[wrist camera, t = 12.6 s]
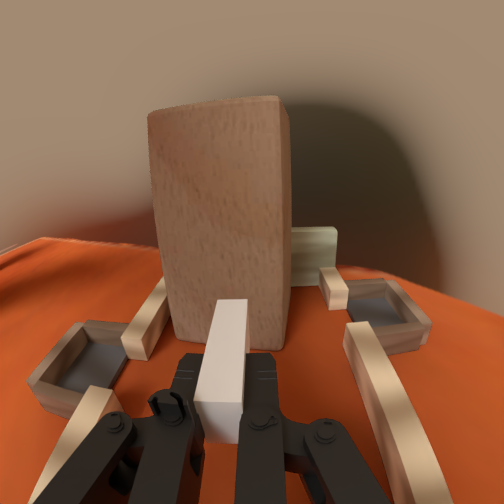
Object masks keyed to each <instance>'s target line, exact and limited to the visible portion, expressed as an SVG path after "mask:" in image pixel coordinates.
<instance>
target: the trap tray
mask: <svg viewBox="0 0 504 504" xmlns="http://www.w3.org/2000/svg"><path fill="white" fill-rule="evenodd" d="M336 247H337V230H336V229H335V228H334V227H297V228H296V227H291V287H293V286H317V285H318V286H319V288H320V290H321V293H322V295H323V298H324V300H325V302H326V305H327V307H328V310H342V309H347V311H348V313H349V315H350V317H351V319H352V321H353V323H346V327H345V333H344V339H343V348H344V350H345V353H346V356H347V358H348V361H349V364H350V366H351V369H352V372H353V374H354V377H355V380H356V383H357V386H358V388H359V391H360V394H361V397H362V400H363V403H364V405H365V408H366V411H367V414H368V417H369V420H370V423H371V426H372V429H373V432H374V435H375V439H376V442H377V445H378V448H379V451H380V454H381V458H382V461H383V464H384V468H385V471H386V475H387V478H388V482H389V485H390V489H391V492H392V496H393V500H394V504H454V503H453V501H452V498H451V495H450V492H449V489H448V487H447V484H446V481H445V479H444V476H443V474H442V471H441V469H440V466H439V464H438V461H437V459H436V457H435V454H434V452H433V449H432V447H431V445H430V443H429V440H428V438H427V436H426V434H425V431H424V429H423V427H422V425H421V423H420V420H419V418H418V416H417V414H416V412H415V410H414V408H413V406H412V404H411V402H410V400H409V398H408V395H407V393H406V391H405V389H404V388H403V386H402V384H401V382H400V380H399V378H398V376H397V374H396V372H395V370H394V368H393V366H392V364H391V362H390V361H389V359H388V357H387V355H393V354H399V353H404V352H410V351H415V350H418V349H419V346H420V345H423V344H426V341H427V339H428V336H429V333H430V330H431V327H432V321H431V320H430V319H429V318H428V317H427V316H426V314H425V313H424V312H423V311H422V310H421V309H420V308H419V307H418V305H417V304H416V303H415V302H414V301H413V300H412V299H411V298H410V297H409V295H408V294H407V293H406V292H405V291H404V290H403V289H402V288H401V287H400V286H399V285H398V284H397V282H396V281H395V280H384V279H383V278H378V279H362V280H344V281H343V279H342V277H341V276H340V274H339V273H338V271H337V269H336V268H335V262H336ZM170 315H171V312H170V307H169V302H168V297H167V292H166V287H165V281H164V276H163V277H162V279H161V280H160V281H159V283H158V284H157V285H156V287H155V288H154V290H153V291H152V292H151V294H150V295H149V297H148V298H147V299H146V301H145V302H144V304H143V305H142V307H141V308H140V309H139V311H138V312H137V314H136V315H135V317H134V318H133V320H132V321H131V323H117V322H106V321H95V320H87V321H86V322H85V323H82V322H75V324H74V325H73V326H72V327H71V328H70V329H69V330H68V331H67V332H66V334H65V335H64V336H63V337H62V338H61V339H60V340H59V341H58V343H57V344H56V345H55V346H54V347H53V348H52V350H51V351H50V352H49V353H48V354H47V355H46V357H45V358H44V359H43V360H42V361H41V363H40V364H39V365H38V366H37V368H36V369H35V370H34V371H33V372H32V374H31V375H30V376H29V377H28V379H27V380H26V382H27V384H28V386H29V387H30V389H31V390H32V392H33V393H34V395H35V396H36V398H37V399H38V401H39V402H40V404H41V405H42V406H43V408H44V409H45V410H46V411H48V412H51V413H53V414H56V415H58V416H61V417H64V418H66V419H69V422H68V424H67V426H66V427H65V429H64V431H63V433H62V435H61V437H60V438H59V440H58V442H57V444H56V446H55V448H54V450H53V452H52V454H51V456H50V458H49V460H48V461H47V463H46V465H45V468H44V470H43V472H42V474H41V476H40V478H39V480H38V482H37V484H36V486H35V488H34V491H33V493H32V495H31V497H30V500H29V502H28V504H33V502H34V501H35V500H36V498H37V497H38V496H39V495H40V493H41V492H42V491H43V490H44V488H45V487H46V486H47V485H48V483H49V482H50V481H51V480H52V478H53V477H54V476H55V474H56V473H57V472H58V471H59V469H60V468H61V467H62V466H63V464H64V463H65V462H66V461H67V459H68V458H69V457H70V456H71V455H72V453H73V452H74V451H75V450H76V448H77V447H78V446H79V445H80V443H81V442H82V441H83V440H84V438H85V437H86V436H87V435H88V433H89V432H90V431H91V430H92V429H93V427H94V426H95V425H96V424H97V422H98V421H99V420H100V419H101V418H102V417H103V416H104V415H105V414H107V413H110V412H113V411H120V412H124V410H123V408H122V406H121V404H120V402H119V400H118V398H117V397H116V395H115V393H114V391H113V390H111V389H112V387H113V385H114V383H115V381H116V380H117V378H118V376H119V374H120V372H121V370H122V369H123V367H124V365H125V363H126V361H127V360H128V359H136V360H145V361H148V359H149V357H150V355H151V353H152V351H153V349H154V347H155V345H156V343H157V341H158V339H159V337H160V335H161V333H162V331H163V329H164V327H165V325H166V323H167V321H168V319H169V317H170Z"/></svg>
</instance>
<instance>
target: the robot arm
mask: <svg viewBox="0 0 504 504" xmlns="http://www.w3.org/2000/svg"><path fill="white" fill-rule="evenodd" d="M148 403H149V405H150V407H151V409H152V412H153V414H154V415H153V416H150V417H145V418H136V419H131V418H130V416H129V415H127V414H126V413H124V412H120V411H113V412H110V413H107V414H105V415H104V416H103V417H102V418H101V419H100V420H99V421H98V422H97V424H96V425H95V426H94V427H93V429H92V430H91V431H90V432H89V433H88V435H87V436H86V437H85V438H84V440H83V441H82V442H81V443H80V445H79V446H78V447H77V448H76V450H75V451H74V452H73V453H72V455H71V456H70V457H69V458H68V459H67V461H66V462H65V463H64V464H63V466H62V467H61V468H60V469H59V471H58V472H57V473H56V474H55V476H54V477H53V478H52V480H51V481H50V482H49V483H48V485H47V486H46V487H45V488H44V490H43V491H42V492H41V493H40V495H39V496H38V497H37V498H36V500H35V501H34V502H33V504H198V502H199V495H200V488H201V480H202V473H203V466H204V459H205V450H204V447H203V444H204V438H205V439H206V442H207V443H224V444H238V452H237V468H236V484H235V501H234V504H287V502H286V485H285V471H288V472H293V473H298V474H299V476H300V478H301V481H302V483H303V485H304V488H305V490H306V492H307V495H308V497H309V499H310V501H311V504H391V502H390V501H389V499H388V498H387V496H386V494H385V493H384V491H383V489H382V488H381V486H380V485H379V483H378V481H377V480H376V478H375V476H374V475H373V473H372V472H371V470H370V468H369V467H368V465H367V463H366V462H365V460H364V459H363V457H362V455H361V454H360V452H359V450H358V449H357V447H356V445H355V444H354V442H353V440H352V439H351V437H350V436H349V434H348V432H347V431H346V429H345V427H344V426H343V425H342V424H341V423H340V422H338V421H336V420H333V419H327V418H324V419H318V420H316V421H314V422H312V423H310V424H309V425H308V424H302V423H297V422H294V421H291V420H289V419H287V418H286V417H285V416H284V415H283V414H282V413H281V411H280V408H279V398H278V385H277V372H276V361H275V359H274V358H273V356H272V355H271V354H270V353H250V336H249V318H248V300H247V299H227V300H217V304H216V308H215V312H214V316H213V320H212V324H211V328H210V332H209V336H208V340H207V344H206V349H205V353H204V354H194V353H186V354H185V356H184V357H183V358H182V359H181V360H180V361H179V364H178V367H177V371H176V373H175V376H174V379H173V382H172V385H171V388H170V389H163V390H160V391H157V392H155V393H154V394H153V395H151V397H150V398H149V400H148Z"/></svg>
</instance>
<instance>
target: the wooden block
mask: <svg viewBox="0 0 504 504" xmlns="http://www.w3.org/2000/svg"><path fill="white" fill-rule="evenodd" d="M147 120H148V143H149V159H150V173H151V185H152V195H153V205H154V213H155V222H156V230H157V237H158V244H159V251H160V257H161V264H162V270H163V276H164V281H165V287H166V292H167V297H168V302H169V307H170V312H171V317H172V322H173V326H174V331H175V335H176V338H177V339H179V340H182V341H188V342H195V343H203V344H207V340H208V336H209V332H210V328H211V324H212V320H213V316H214V312H215V308H216V304H217V300H227V299H247V300H248V318H249V336H250V349H259V350H272V351H279V350H281V349H282V347H283V346H284V339H285V332H286V325H287V318H288V311H289V304H290V296H291V161H290V160H291V159H290V130H289V118H288V115H287V113H286V111H285V109H284V107H283V105H282V102H281V100H280V98H279V97H277V96H255V97H243V98H232V99H222V100H214V101H207V102H200V103H193V104H188V105H181V106H176V107H170V108H165V109H160V110H156V111H153V112H151V113H149V114H148V117H147Z"/></svg>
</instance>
